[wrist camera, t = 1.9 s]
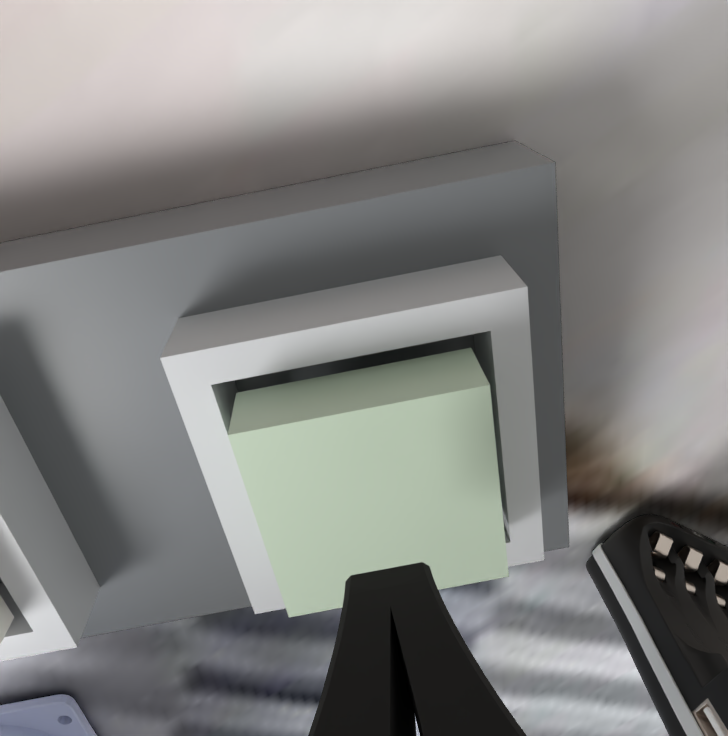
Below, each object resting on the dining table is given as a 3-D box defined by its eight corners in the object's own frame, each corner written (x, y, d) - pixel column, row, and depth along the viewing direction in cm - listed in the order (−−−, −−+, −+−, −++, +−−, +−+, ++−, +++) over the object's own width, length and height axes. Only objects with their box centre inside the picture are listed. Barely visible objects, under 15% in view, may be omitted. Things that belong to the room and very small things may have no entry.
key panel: (537, 482, 21) (596, 600, 17) (-107, 604, 22) (-212, 750, 17) (515, 140, 16) (591, 182, 12) (-327, 307, 17) (-557, 408, 12)
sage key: (491, 527, 16) (509, 576, 14) (290, 565, 16) (288, 617, 14) (471, 347, 13) (489, 384, 12) (236, 392, 14) (227, 435, 12)
